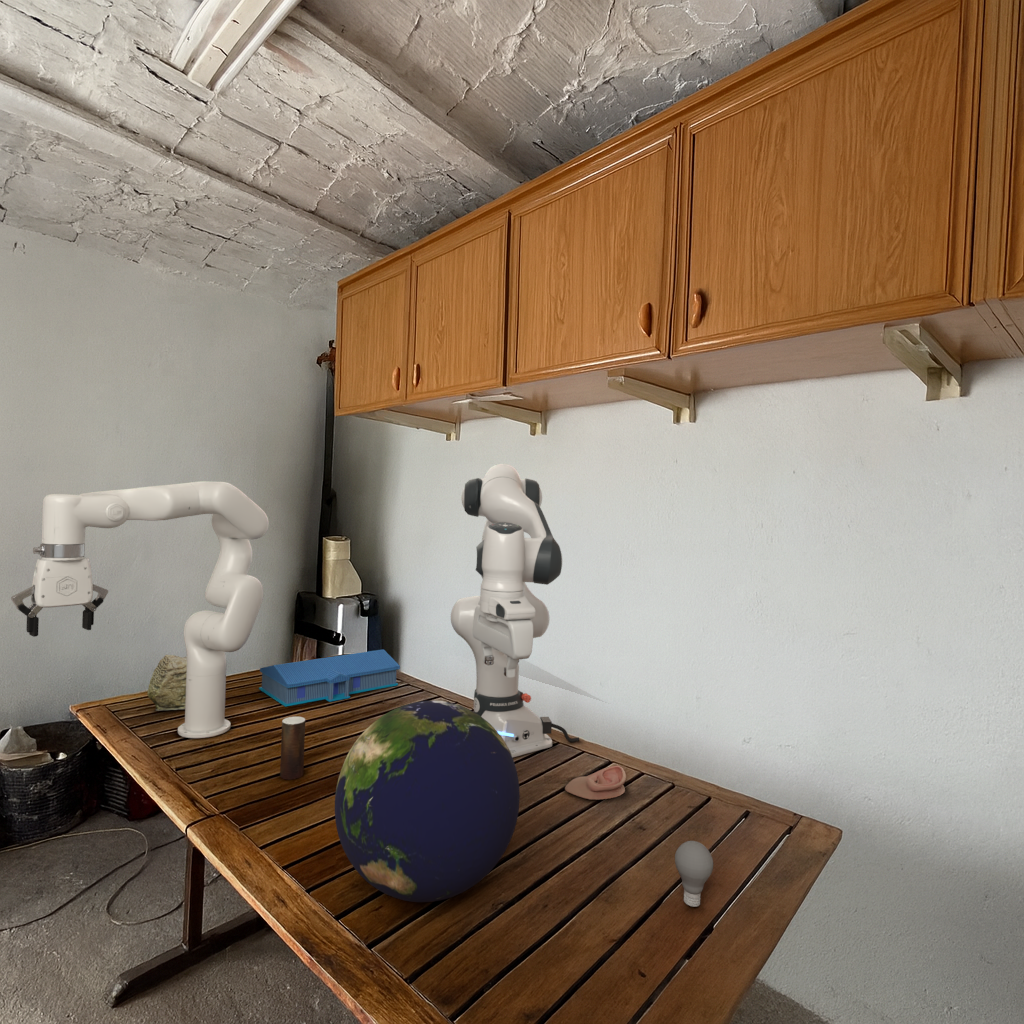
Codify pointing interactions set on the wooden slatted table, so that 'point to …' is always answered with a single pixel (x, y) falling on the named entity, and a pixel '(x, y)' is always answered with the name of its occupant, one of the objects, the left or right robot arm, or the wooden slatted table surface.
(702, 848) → the light bulb
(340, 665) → the model building
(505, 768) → the globe
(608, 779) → the rubber human ear
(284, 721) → the tin
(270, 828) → the wooden slatted table surface
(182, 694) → the fossil
